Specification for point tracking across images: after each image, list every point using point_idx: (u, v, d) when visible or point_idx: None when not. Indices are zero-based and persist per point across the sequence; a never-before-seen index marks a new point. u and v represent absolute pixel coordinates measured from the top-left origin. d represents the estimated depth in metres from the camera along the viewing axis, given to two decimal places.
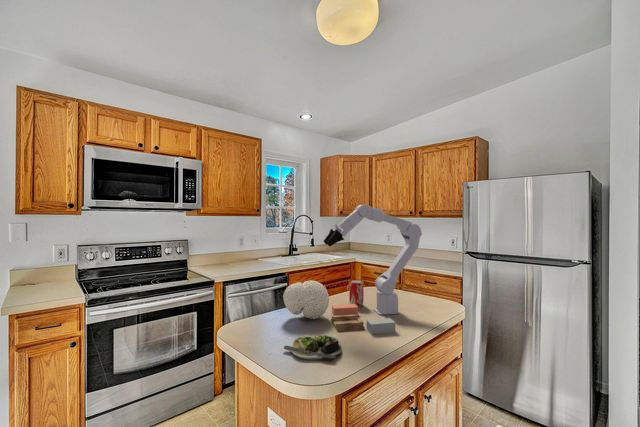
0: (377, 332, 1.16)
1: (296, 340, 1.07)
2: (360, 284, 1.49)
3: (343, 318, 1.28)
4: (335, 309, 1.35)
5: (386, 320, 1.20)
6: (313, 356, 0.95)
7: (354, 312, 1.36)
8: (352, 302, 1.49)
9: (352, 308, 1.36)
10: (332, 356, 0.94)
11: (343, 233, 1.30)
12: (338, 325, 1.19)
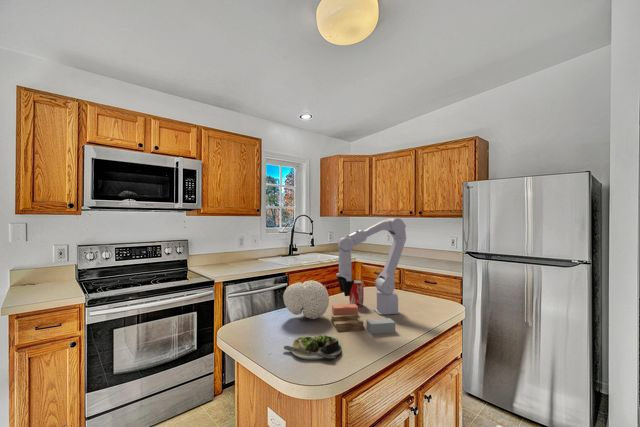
0: (377, 332, 1.16)
1: (296, 340, 1.07)
2: (360, 284, 1.49)
3: (343, 318, 1.28)
4: (335, 309, 1.35)
5: (386, 320, 1.20)
6: (313, 356, 0.95)
7: (354, 312, 1.36)
8: (352, 302, 1.49)
9: (352, 308, 1.36)
10: (332, 356, 0.94)
11: (349, 279, 1.31)
12: (338, 325, 1.19)
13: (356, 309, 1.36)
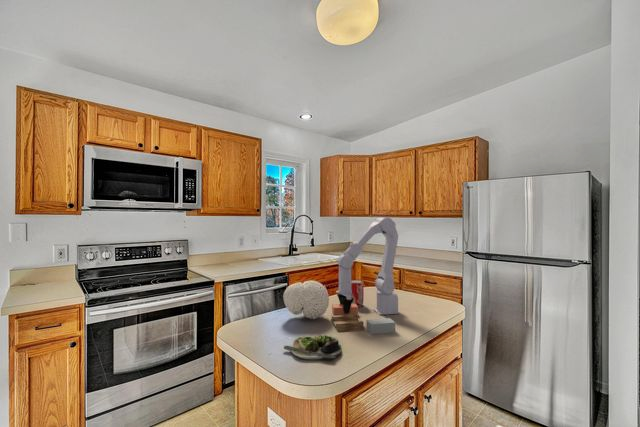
0: (377, 332, 1.16)
1: (296, 340, 1.07)
2: (360, 284, 1.49)
3: (343, 318, 1.28)
4: (335, 308, 1.35)
5: (386, 320, 1.20)
6: (313, 356, 0.95)
7: (354, 312, 1.36)
8: (352, 302, 1.49)
9: (352, 308, 1.36)
10: (332, 356, 0.94)
11: (349, 298, 1.31)
12: (338, 325, 1.19)
13: (356, 309, 1.36)
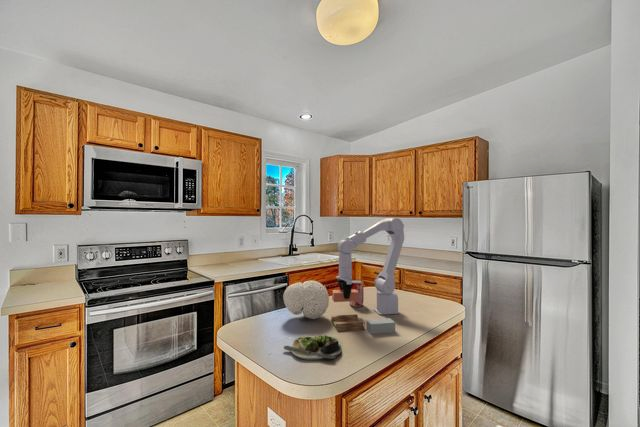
0: (377, 332, 1.16)
1: (296, 340, 1.07)
2: (360, 284, 1.49)
3: (343, 318, 1.28)
4: (335, 294, 1.33)
5: (386, 320, 1.20)
6: (313, 356, 0.95)
7: (354, 297, 1.34)
8: (352, 302, 1.49)
9: (352, 293, 1.34)
10: (332, 356, 0.94)
11: (349, 282, 1.29)
12: (338, 325, 1.19)
13: (356, 294, 1.35)
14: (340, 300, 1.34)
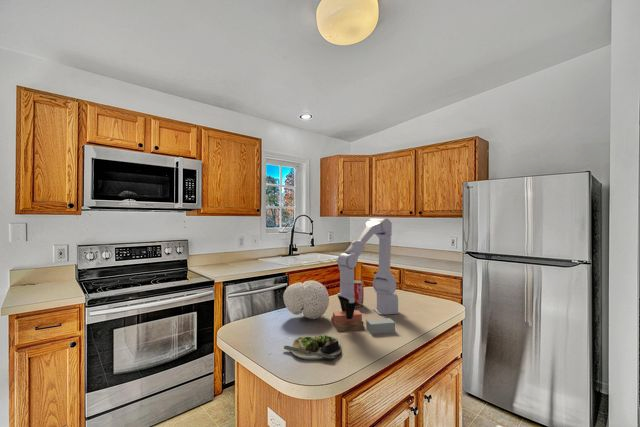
0: (377, 332, 1.16)
1: (296, 340, 1.07)
2: (360, 284, 1.49)
3: None
4: (336, 316, 1.21)
5: (386, 320, 1.20)
6: (313, 356, 0.95)
7: (357, 320, 1.23)
8: None
9: (355, 315, 1.23)
10: (332, 356, 0.94)
11: (352, 301, 1.18)
12: (338, 325, 1.19)
13: (360, 316, 1.23)
14: None
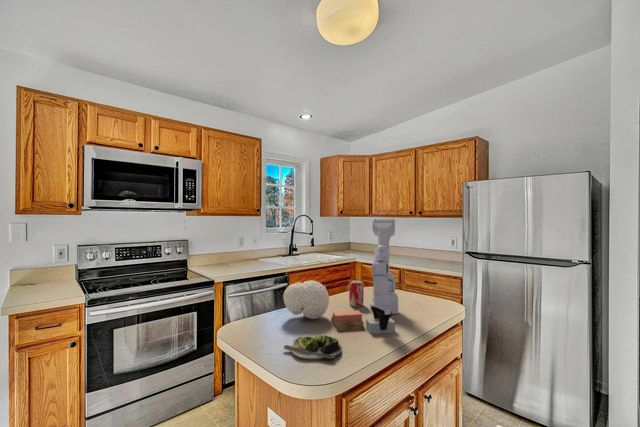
0: (377, 331, 1.16)
1: (296, 340, 1.07)
2: (360, 284, 1.49)
3: None
4: (336, 316, 1.21)
5: None
6: (313, 356, 0.95)
7: (357, 320, 1.23)
8: (352, 302, 1.49)
9: (355, 315, 1.23)
10: (332, 356, 0.94)
11: (388, 312, 1.12)
12: (338, 325, 1.19)
13: (360, 316, 1.23)
14: None
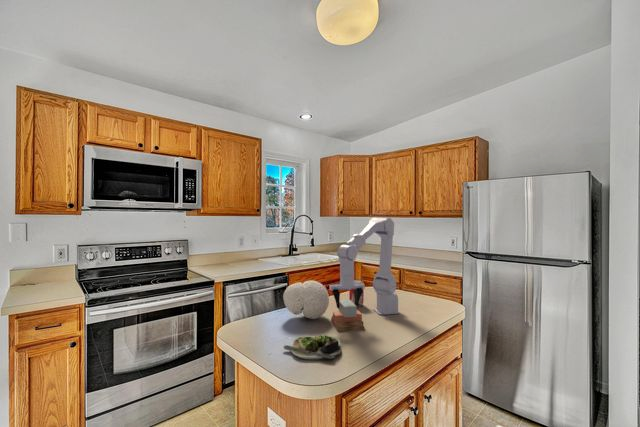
0: (339, 309, 1.27)
1: (296, 340, 1.07)
2: None
3: None
4: (336, 316, 1.21)
5: (350, 304, 1.23)
6: (312, 356, 0.95)
7: (357, 320, 1.23)
8: None
9: None
10: (331, 356, 0.94)
11: (330, 288, 1.23)
12: (338, 325, 1.19)
13: (360, 316, 1.23)
14: None
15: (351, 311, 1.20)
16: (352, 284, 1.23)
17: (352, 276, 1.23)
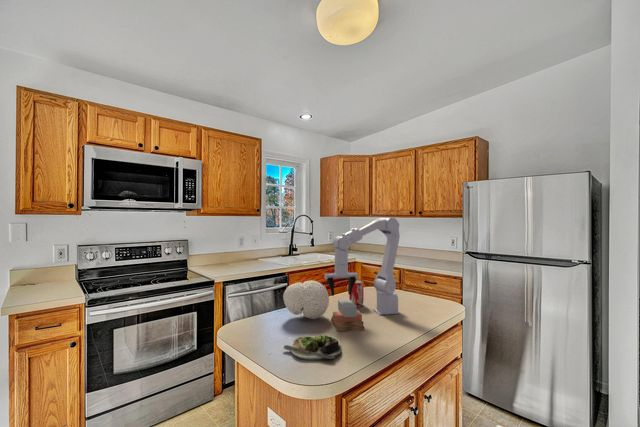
0: (339, 309, 1.27)
1: (296, 340, 1.07)
2: (360, 284, 1.49)
3: None
4: (336, 316, 1.21)
5: (350, 304, 1.23)
6: (312, 356, 0.95)
7: (357, 320, 1.23)
8: None
9: None
10: (331, 356, 0.94)
11: (325, 277, 1.31)
12: (338, 325, 1.19)
13: (360, 316, 1.23)
14: None
15: (351, 311, 1.20)
16: (346, 273, 1.31)
17: (346, 265, 1.31)
